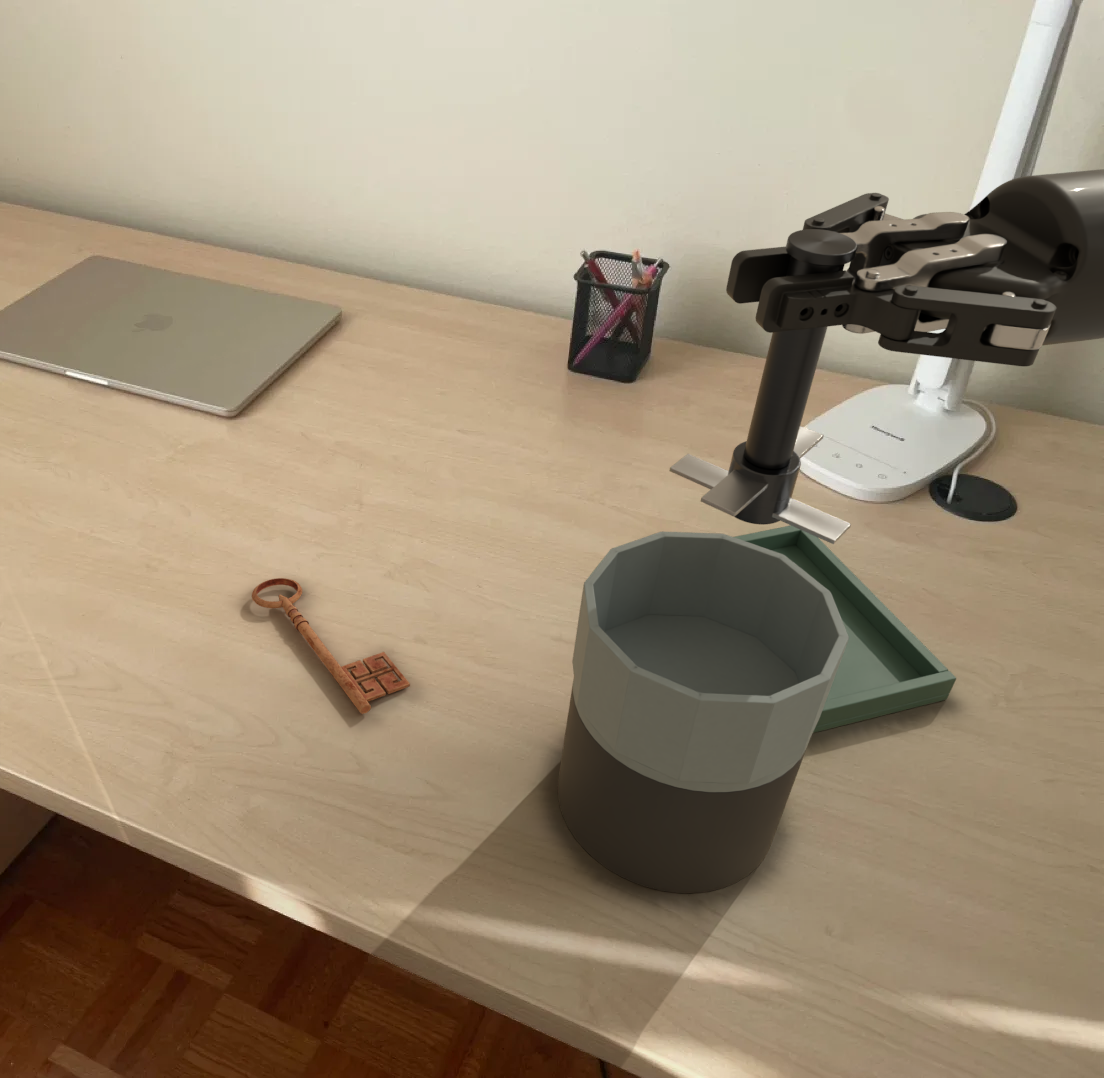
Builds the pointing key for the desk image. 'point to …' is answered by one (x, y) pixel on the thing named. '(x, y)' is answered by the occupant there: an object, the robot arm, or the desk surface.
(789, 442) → the blade
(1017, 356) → the robot arm
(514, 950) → the desk surface
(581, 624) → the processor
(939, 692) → the tray
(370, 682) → the key
